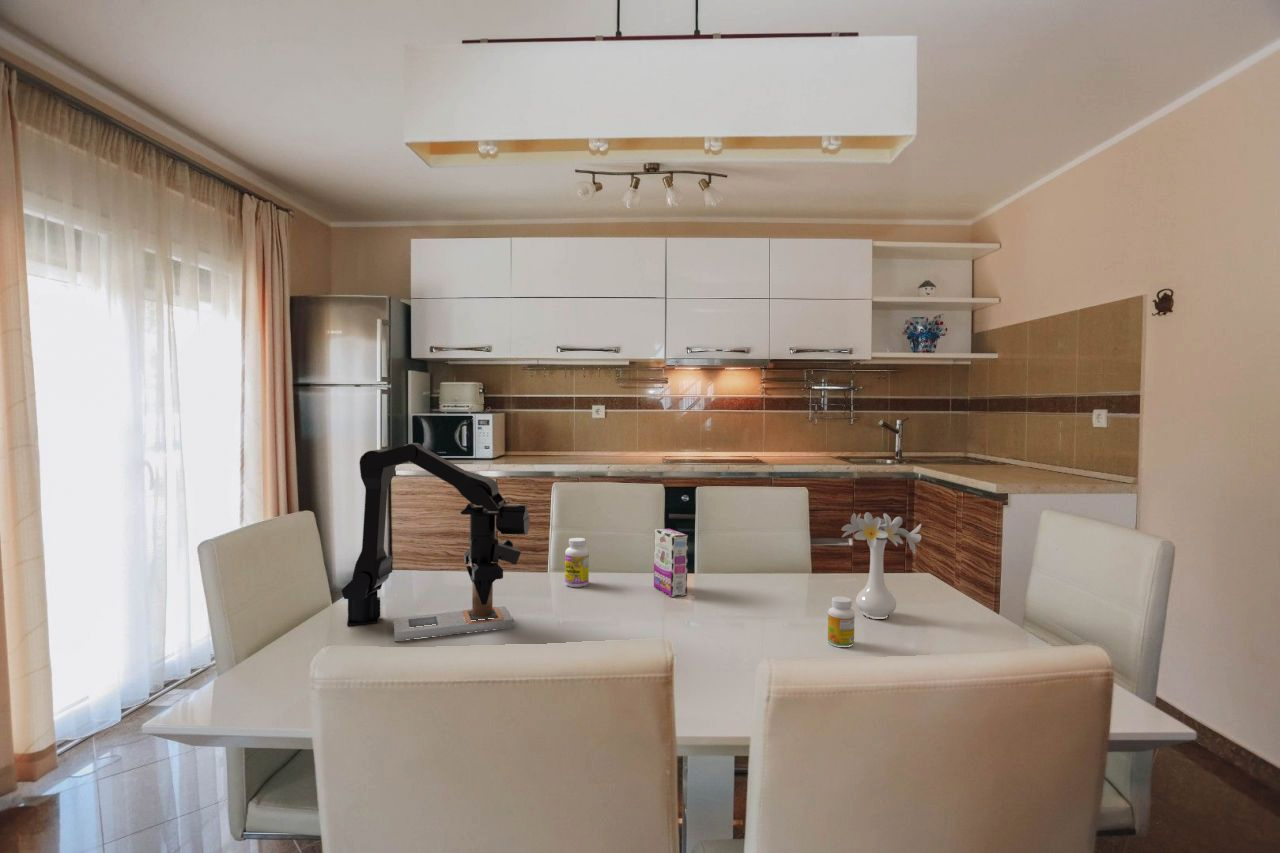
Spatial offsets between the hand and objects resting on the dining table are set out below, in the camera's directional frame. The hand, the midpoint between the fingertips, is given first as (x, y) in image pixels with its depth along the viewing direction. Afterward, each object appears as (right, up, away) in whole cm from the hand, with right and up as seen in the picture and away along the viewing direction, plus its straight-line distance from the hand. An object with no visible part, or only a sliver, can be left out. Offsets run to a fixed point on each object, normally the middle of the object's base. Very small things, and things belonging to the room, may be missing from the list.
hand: (482, 601), depth 148 cm
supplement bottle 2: (+79, -7, -10) cm, 80 cm away
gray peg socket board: (-6, -5, -2) cm, 8 cm away
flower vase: (+94, -6, +9) cm, 95 cm away
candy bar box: (+44, -5, +28) cm, 53 cm away
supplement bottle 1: (+18, -5, +34) cm, 38 cm away
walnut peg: (0, -3, 0) cm, 3 cm away
